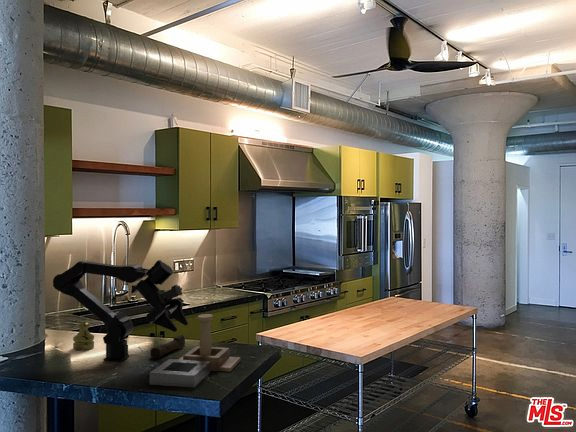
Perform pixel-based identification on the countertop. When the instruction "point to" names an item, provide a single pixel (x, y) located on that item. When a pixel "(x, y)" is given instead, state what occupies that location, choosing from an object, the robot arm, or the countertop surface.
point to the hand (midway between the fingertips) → (181, 327)
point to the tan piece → (214, 358)
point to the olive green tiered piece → (83, 337)
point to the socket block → (180, 373)
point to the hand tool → (168, 347)
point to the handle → (205, 334)
